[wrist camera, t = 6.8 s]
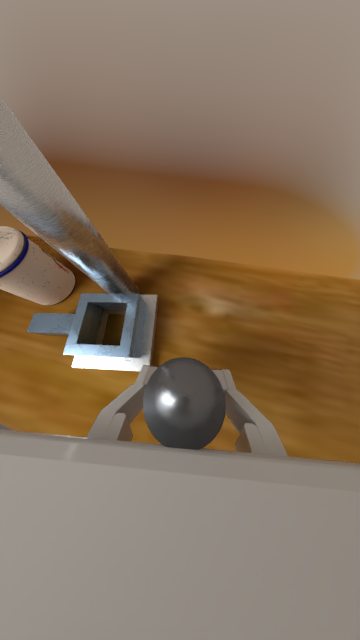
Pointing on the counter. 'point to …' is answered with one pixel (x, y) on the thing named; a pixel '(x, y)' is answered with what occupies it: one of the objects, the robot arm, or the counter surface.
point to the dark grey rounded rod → (184, 404)
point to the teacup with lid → (31, 270)
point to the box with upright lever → (74, 259)
